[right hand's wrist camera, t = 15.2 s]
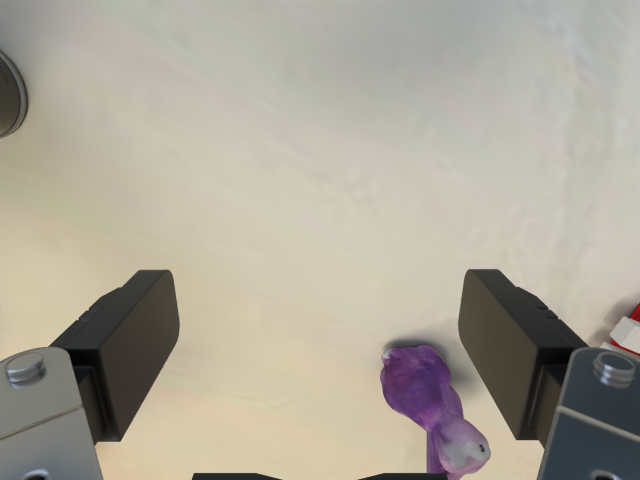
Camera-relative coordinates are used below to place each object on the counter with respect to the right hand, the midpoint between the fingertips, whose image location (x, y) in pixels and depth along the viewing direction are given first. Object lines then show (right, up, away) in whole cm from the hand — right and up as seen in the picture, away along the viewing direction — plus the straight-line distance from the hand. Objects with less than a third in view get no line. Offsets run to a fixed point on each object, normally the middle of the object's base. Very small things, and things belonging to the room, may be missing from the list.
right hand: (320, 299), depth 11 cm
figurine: (+13, -15, +39) cm, 44 cm away
